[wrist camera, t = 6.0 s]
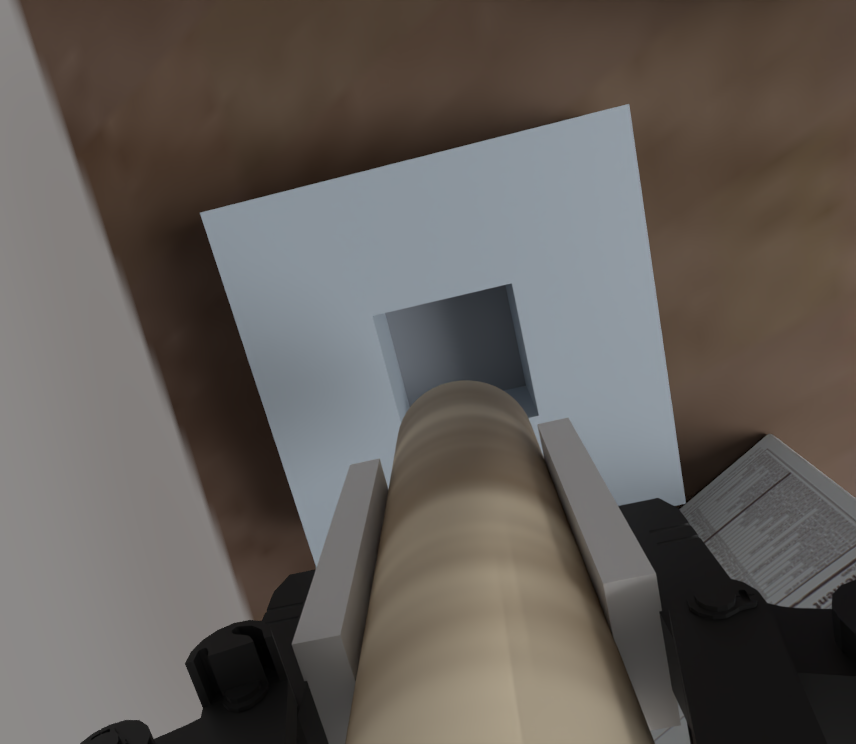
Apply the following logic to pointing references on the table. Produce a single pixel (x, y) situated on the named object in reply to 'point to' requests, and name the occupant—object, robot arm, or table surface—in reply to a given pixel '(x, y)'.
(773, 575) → the supplement box
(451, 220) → the socket block
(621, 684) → the peg
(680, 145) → the table surface
